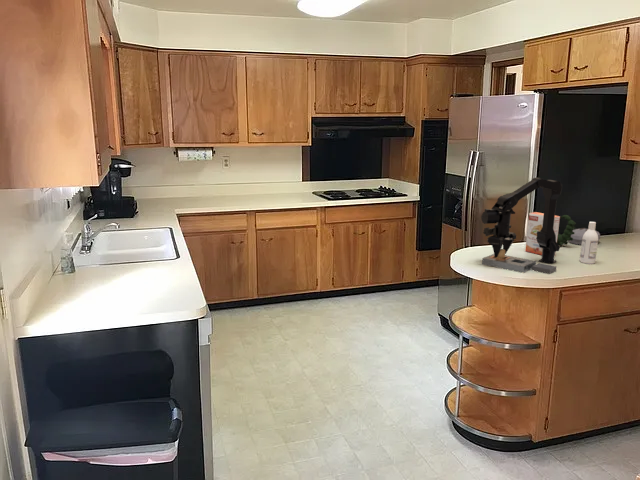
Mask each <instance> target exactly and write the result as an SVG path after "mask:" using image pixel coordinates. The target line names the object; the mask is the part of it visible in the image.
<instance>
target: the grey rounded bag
mask: <svg viewBox="0 0 640 480" xmlns="http://www.w3.org/2000/svg"><path fill="white" fill-rule="evenodd" d="M587 230H588V228H586V227H581V228H575V229H573V230H572V231H573V232H574V234H572V235H571V237H572V238H573V240H570V241H568V243H571V244H575V245H578V244H579V245H582V238H583V235H584V233H585V232H586V231H587ZM595 231H596V233H597V235H598V242H599V241H600V240H601V233H600V232H599V231H597V230H595Z"/></svg>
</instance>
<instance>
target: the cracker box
mask: <svg viewBox="0 0 640 480" xmlns="http://www.w3.org/2000/svg"><path fill="white" fill-rule="evenodd" d="M528 215H529V216H528V223H527V231H526V239H525V240H526V241H525V249H524V250H525V252H527V253H532V254H535V255H540V256H542V250H543V248H540V247H539V244H538V242H537V239H536V238H537V231H540V230H541V229H542V226H543V217H544V212H543V213H542V212H537V211H533V212H529V214H528ZM560 219H561V215H560V216H559V215H555V218H554V227H553V230H554V232H555V235H556V242H557V237H558V234H559V227H560ZM556 252H557V251H556ZM556 252H555V254H556Z"/></svg>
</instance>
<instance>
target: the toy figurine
mask: <svg viewBox="0 0 640 480" xmlns="http://www.w3.org/2000/svg"><path fill="white" fill-rule="evenodd" d="M560 219H565V221H566V222H567V225H565V229H564V230H563V233H562V234H561V233H558V237H557V244H558V245H559V246H563V245H565V246H567V245H568V244H569V241H570V240H573V238H572V237H571V235H572V234H574V232H573V230H575V229H576V226H575V225H576V224H577V223H576V222H575V221H574V220H573V219H572V218H571V216H570V215H567V214H564V215H561V216H560Z"/></svg>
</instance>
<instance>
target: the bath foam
mask: <svg viewBox="0 0 640 480" xmlns="http://www.w3.org/2000/svg"><path fill="white" fill-rule="evenodd" d="M596 224H597V222H596V221H589V223H588V228H587V229H588V230H587V231H586V232H585V233H584V235H583V238H582V245H581V246H580V252H579V253H580V254H579V262H580V263H583V264H589V265H592V264H595V263H596V259H597V253H598V252H597V251H598V245H599V241H598V235H597V233H596V231H597V230H596V226H597V225H596Z"/></svg>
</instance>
